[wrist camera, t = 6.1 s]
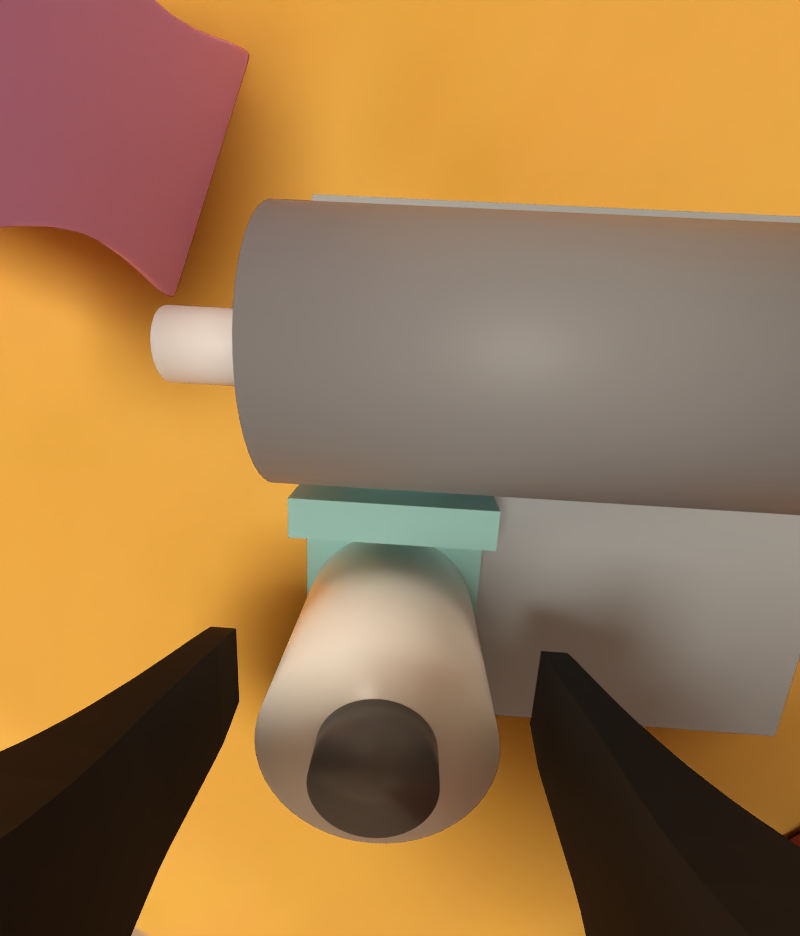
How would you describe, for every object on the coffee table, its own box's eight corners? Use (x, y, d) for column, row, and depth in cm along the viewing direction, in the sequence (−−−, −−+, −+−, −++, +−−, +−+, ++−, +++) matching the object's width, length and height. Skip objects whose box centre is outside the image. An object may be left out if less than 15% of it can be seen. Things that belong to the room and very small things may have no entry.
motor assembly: (902, 230, 12) (1394, 118, 6) (757, 717, 16) (966, 951, 10) (229, 199, 13) (48, 66, 7) (246, 679, 17) (144, 880, 10)
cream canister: (478, 539, 14) (522, 682, 8) (464, 683, 15) (493, 893, 9) (309, 530, 14) (234, 664, 8) (309, 673, 15) (244, 876, 9)
